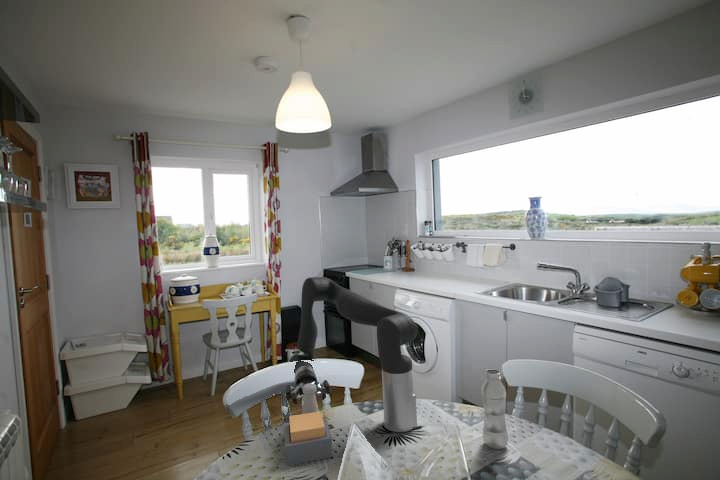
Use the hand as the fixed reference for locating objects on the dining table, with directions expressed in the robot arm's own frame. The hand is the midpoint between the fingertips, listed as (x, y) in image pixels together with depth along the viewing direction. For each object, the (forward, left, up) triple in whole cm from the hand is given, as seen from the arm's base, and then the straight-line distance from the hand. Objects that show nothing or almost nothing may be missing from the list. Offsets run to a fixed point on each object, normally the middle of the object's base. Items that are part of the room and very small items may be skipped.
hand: (309, 399), depth 115 cm
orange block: (+2, +13, -4) cm, 14 cm away
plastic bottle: (-47, +27, -8) cm, 55 cm away
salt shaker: (0, +2, -8) cm, 8 cm away
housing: (+2, +13, -8) cm, 15 cm away
